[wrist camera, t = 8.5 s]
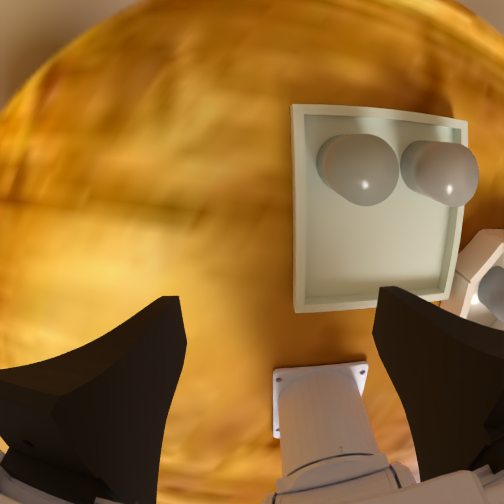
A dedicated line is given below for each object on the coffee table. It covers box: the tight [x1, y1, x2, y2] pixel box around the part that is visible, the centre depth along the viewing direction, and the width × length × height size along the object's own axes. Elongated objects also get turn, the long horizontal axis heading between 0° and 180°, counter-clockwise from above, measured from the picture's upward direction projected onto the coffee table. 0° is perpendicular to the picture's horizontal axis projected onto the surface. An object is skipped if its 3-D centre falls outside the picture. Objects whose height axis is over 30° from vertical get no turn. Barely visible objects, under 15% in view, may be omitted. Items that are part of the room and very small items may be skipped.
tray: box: [290, 104, 468, 314], centre depth 19 cm, size 13×12×2 cm
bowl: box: [440, 229, 504, 331], centre depth 20 cm, size 10×10×3 cm
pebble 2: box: [400, 140, 479, 207], centre depth 16 cm, size 4×4×4 cm
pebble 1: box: [316, 134, 399, 206], centre depth 16 cm, size 4×4×4 cm
